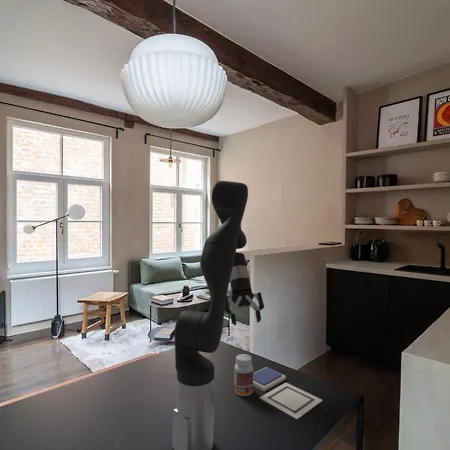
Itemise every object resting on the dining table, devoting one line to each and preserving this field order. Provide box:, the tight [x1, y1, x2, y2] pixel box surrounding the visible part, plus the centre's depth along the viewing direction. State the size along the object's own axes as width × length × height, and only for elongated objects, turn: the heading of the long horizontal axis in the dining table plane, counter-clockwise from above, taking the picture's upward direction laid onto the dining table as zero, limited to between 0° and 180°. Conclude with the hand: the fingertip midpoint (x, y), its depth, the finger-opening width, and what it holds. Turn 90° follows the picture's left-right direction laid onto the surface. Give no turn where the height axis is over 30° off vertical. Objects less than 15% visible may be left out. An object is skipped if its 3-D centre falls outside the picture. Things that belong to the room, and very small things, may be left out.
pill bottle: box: [233, 353, 254, 397], centre depth 102 cm, size 6×6×11 cm
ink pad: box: [253, 366, 287, 392], centre depth 109 cm, size 12×9×2 cm
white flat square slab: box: [258, 382, 323, 420], centre depth 98 cm, size 14×14×1 cm
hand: (246, 323), depth 110 cm, fingers open, 8 cm apart
